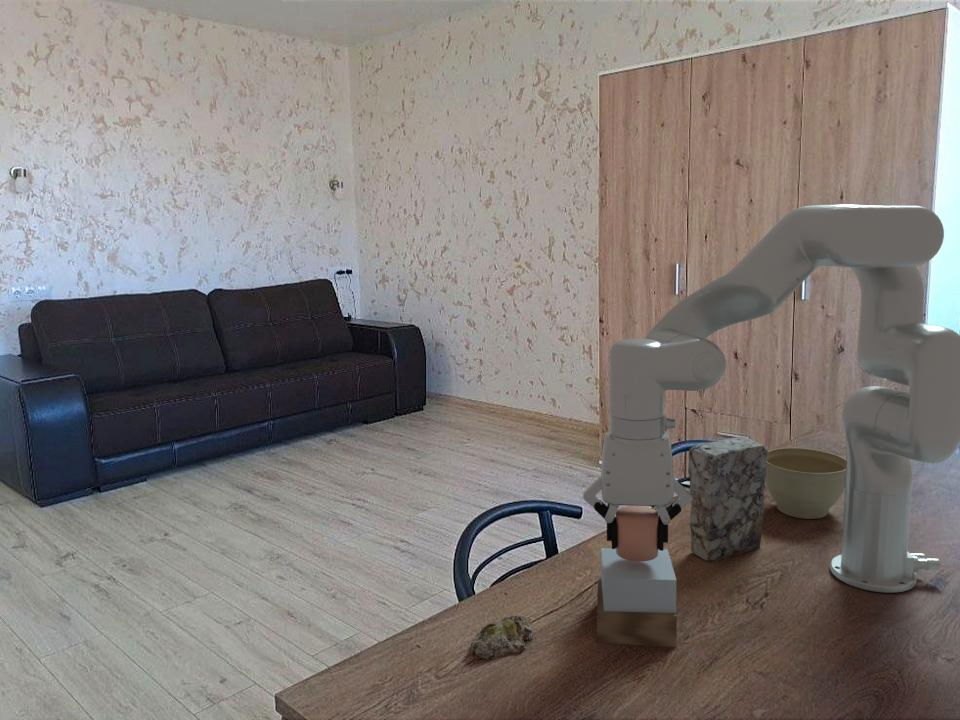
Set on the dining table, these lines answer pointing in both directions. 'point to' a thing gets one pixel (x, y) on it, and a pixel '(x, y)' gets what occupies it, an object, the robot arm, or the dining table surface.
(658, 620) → the walnut base block
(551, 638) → the dining table surface
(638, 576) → the slate cap block
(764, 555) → the dining table surface
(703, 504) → the stone block
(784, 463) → the planter bowl
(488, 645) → the mineral rock
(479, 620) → the dining table surface
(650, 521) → the dusty-pink cylinder
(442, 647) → the dining table surface
